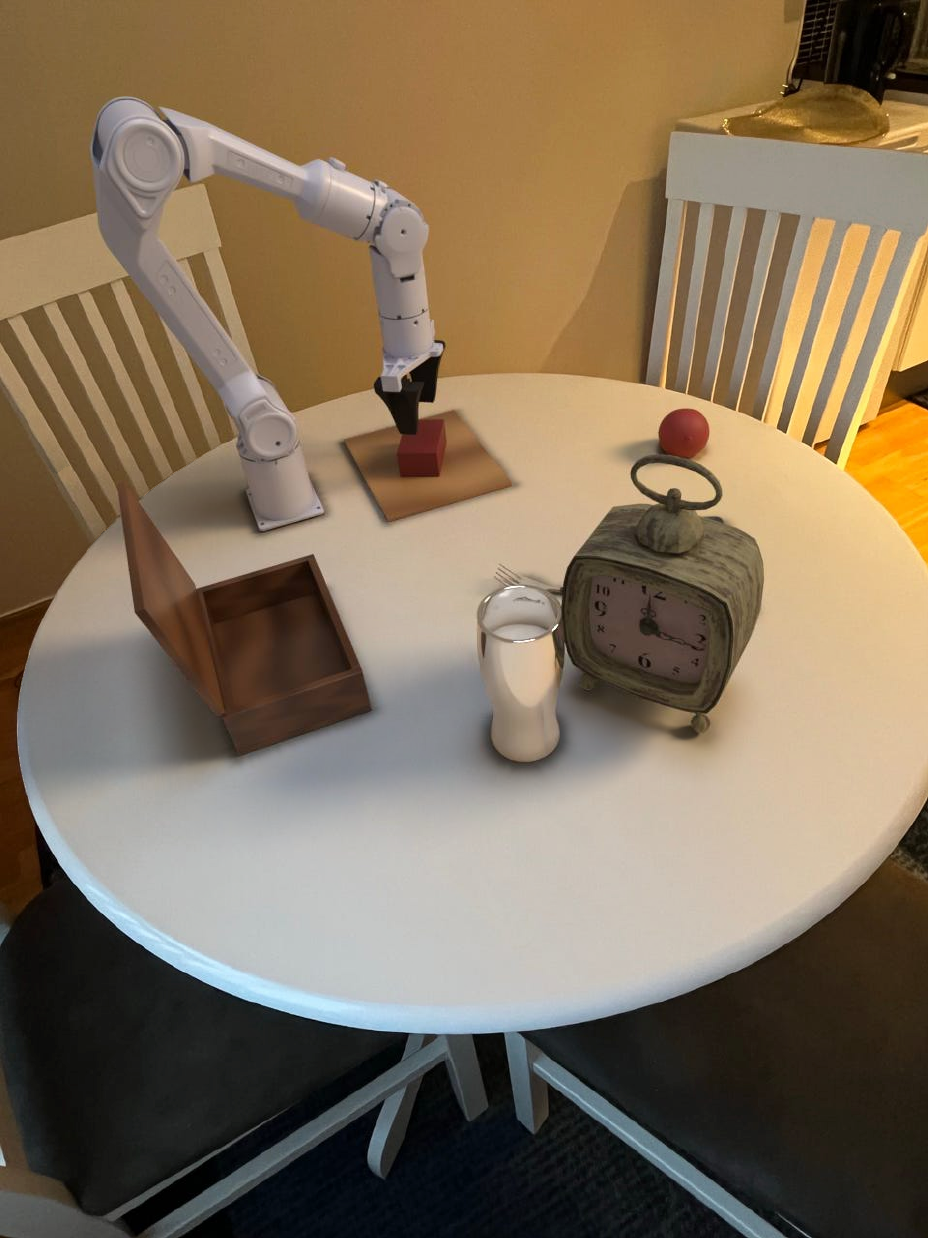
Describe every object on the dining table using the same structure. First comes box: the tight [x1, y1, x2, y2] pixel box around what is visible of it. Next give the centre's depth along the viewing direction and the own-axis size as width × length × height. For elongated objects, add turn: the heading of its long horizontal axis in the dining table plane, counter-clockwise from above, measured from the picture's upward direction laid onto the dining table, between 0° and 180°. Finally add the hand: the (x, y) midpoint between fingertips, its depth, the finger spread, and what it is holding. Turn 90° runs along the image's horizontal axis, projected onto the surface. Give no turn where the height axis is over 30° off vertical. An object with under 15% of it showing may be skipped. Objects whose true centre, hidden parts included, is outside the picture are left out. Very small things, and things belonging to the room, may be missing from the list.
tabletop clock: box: [560, 453, 765, 734], centre depth 68 cm, size 14×9×25 cm, turn 58°
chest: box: [196, 553, 373, 757], centre depth 81 cm, size 13×19×5 cm
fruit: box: [657, 408, 710, 459], centre depth 102 cm, size 6×6×8 cm
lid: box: [116, 481, 225, 717], centre depth 73 cm, size 13×19×1 cm
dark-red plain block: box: [397, 419, 447, 477], centre depth 106 cm, size 5×8×4 cm, turn 174°
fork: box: [493, 563, 563, 593], centre depth 86 cm, size 3×16×2 cm, turn 73°
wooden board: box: [343, 409, 513, 523], centre depth 107 cm, size 20×16×1 cm
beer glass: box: [476, 583, 566, 763], centre depth 69 cm, size 7×7×15 cm
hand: (417, 416), depth 103 cm, fingers open, 7 cm apart
